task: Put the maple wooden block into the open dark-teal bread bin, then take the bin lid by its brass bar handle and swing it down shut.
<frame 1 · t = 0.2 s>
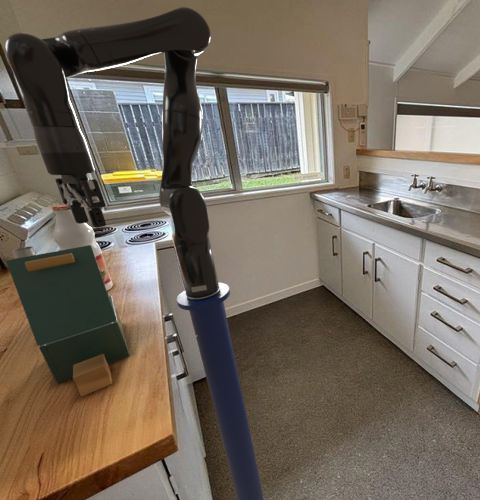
hand: (91, 224, 65), 27 cm above the counter, tool pointing down, fingers open, 8 cm apart
bread bin: (94, 350, 64), on the counter
block: (96, 383, 55), on the counter
bin lid: (63, 293, 53), point 18 cm above the counter, hinge at 70.0°
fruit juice: (95, 290, 92), on the counter
plastic bottle: (53, 317, 78), on the counter
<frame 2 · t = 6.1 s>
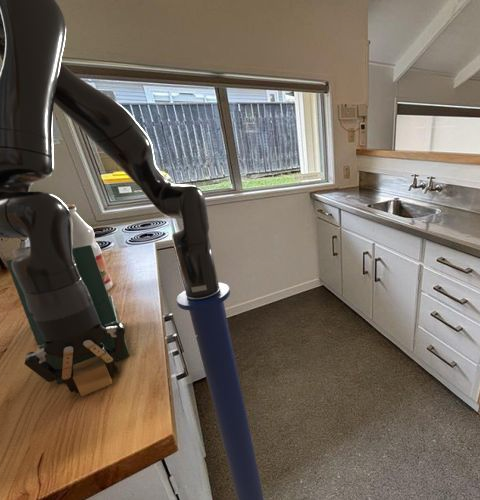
hand: (96, 382, 55), 0 cm above the counter, tool pointing down, fingers closed on block, 4 cm apart
block: (96, 383, 55), on the counter, touching gripper
everything else where it was.
when the fingers open (9 cm above the counter, at t = 15.6 s): block drops 8 cm, resting on bread bin.
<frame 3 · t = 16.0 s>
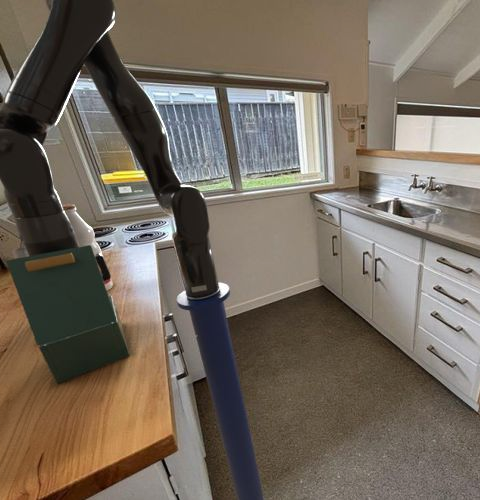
hand: (78, 304, 63), 10 cm above the counter, tool pointing down, fingers open, 8 cm apart
block: (92, 340, 67), point 1 cm above the counter, touching bread bin
everything else where it was.
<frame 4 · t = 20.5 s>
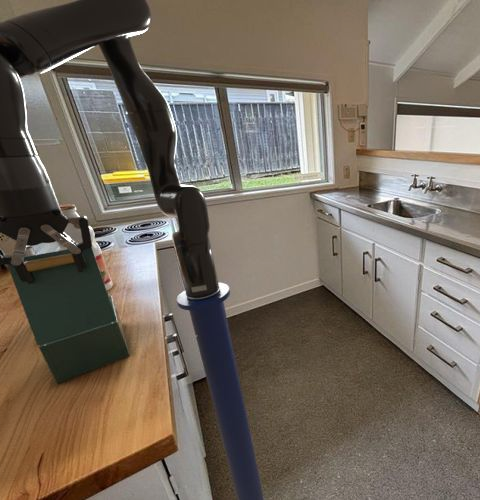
hand: (57, 276, 53), 21 cm above the counter, tool pointing down, fingers closed on bin lid, 6 cm apart
bin lid: (63, 293, 53), point 18 cm above the counter, hinge at 70.0°, touching gripper
everything else where it was.
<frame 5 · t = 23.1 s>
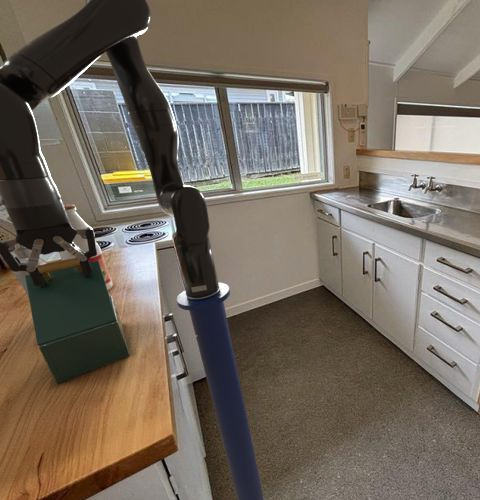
hand: (66, 281, 60), 17 cm above the counter, tool pointing down, fingers closed on bin lid, 6 cm apart
bin lid: (68, 293, 57), point 16 cm above the counter, hinge at 35.7°, touching gripper
everything else where it was.
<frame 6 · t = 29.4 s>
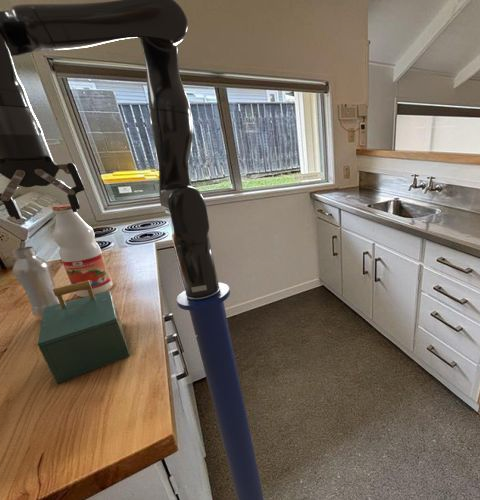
hand: (48, 215, 60), 30 cm above the counter, tool pointing down, fingers open, 8 cm apart
bin lid: (75, 305, 61), point 12 cm above the counter, hinge at 1.2°
everything else where it was.
at the end: block inside the target area in the bread bin (3.5 cm from its centre), point 0.8 cm above the bread bin's base; bin lid at +1° (first picture: +70°) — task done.
